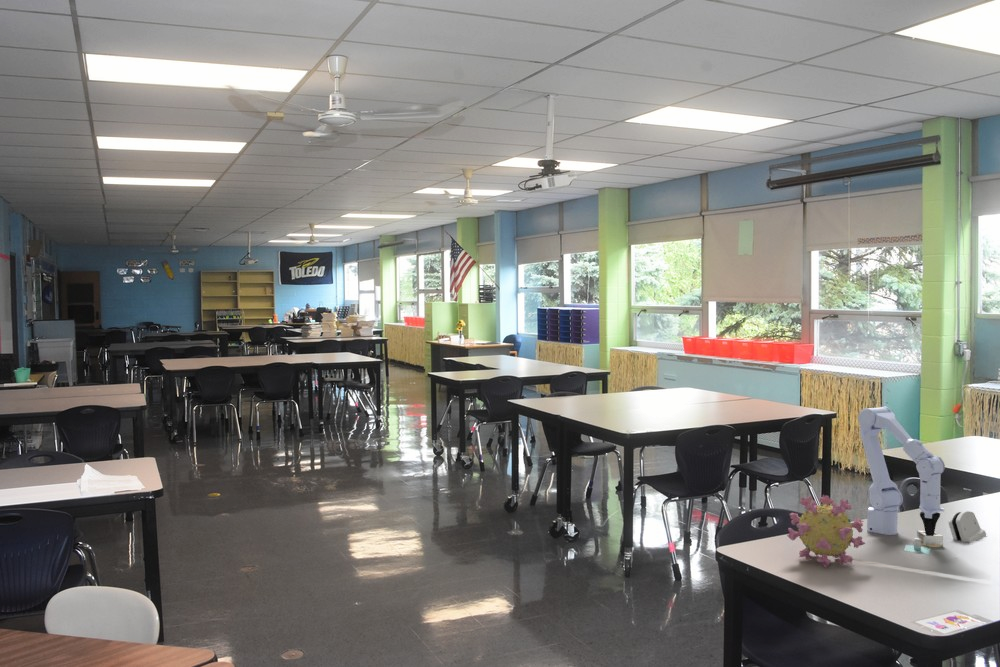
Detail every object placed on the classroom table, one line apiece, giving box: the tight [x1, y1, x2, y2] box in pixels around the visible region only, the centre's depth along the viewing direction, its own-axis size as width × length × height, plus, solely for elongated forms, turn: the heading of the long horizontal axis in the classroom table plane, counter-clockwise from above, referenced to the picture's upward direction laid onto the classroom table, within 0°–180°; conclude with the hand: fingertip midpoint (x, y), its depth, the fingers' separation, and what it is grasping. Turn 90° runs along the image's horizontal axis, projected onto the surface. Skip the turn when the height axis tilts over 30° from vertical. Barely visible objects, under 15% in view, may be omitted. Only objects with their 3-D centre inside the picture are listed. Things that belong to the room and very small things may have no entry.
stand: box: [903, 537, 932, 555], centre depth 246 cm, size 7×7×4 cm
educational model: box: [786, 494, 866, 569], centre depth 237 cm, size 23×22×20 cm
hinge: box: [948, 510, 987, 543], centre depth 260 cm, size 17×5×10 cm, turn 132°
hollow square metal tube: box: [916, 530, 944, 546], centre depth 252 cm, size 6×6×3 cm
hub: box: [921, 542, 943, 548], centre depth 252 cm, size 7×7×4 cm
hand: (929, 535), depth 250 cm, fingers closed
